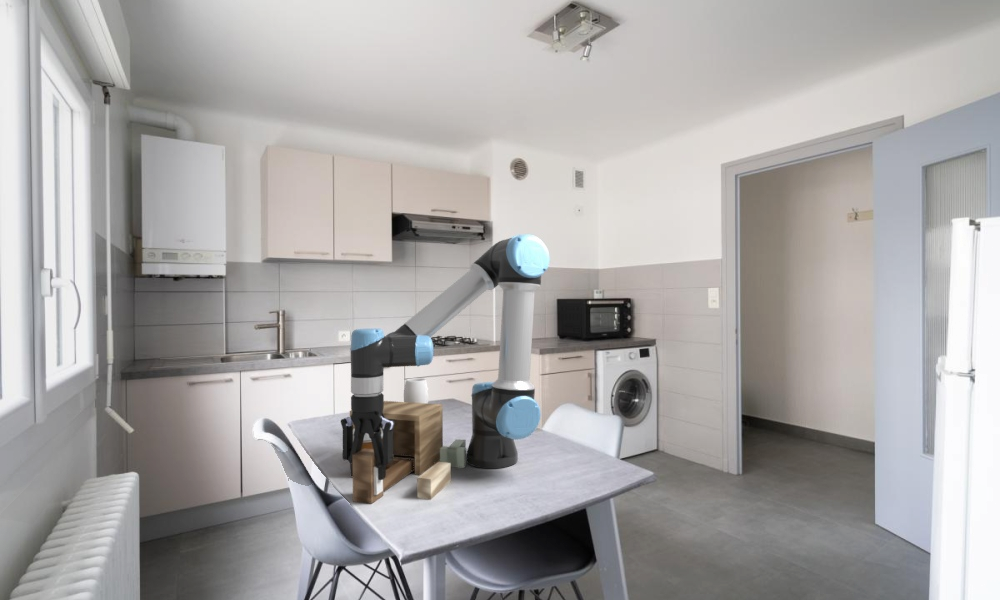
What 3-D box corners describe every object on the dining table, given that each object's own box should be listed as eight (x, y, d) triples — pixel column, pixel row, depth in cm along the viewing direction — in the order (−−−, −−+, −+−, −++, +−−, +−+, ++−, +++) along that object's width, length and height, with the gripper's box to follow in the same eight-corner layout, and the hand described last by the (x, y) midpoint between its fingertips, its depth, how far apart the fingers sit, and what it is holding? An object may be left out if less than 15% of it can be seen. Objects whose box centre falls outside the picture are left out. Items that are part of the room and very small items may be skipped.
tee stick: (472, 456, 146) (472, 440, 146) (463, 467, 136) (463, 449, 136) (449, 455, 147) (449, 439, 147) (440, 466, 138) (439, 448, 138)
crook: (417, 470, 133) (416, 430, 133) (371, 504, 112) (370, 456, 112) (367, 464, 138) (366, 426, 138) (314, 495, 117) (313, 450, 117)
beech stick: (450, 482, 126) (450, 462, 126) (430, 500, 114) (430, 479, 114) (438, 480, 127) (438, 461, 127) (417, 498, 115) (417, 477, 115)
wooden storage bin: (442, 457, 145) (442, 404, 145) (419, 474, 131) (419, 415, 131) (378, 451, 152) (378, 400, 152) (350, 467, 137) (349, 410, 137)
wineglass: (417, 448, 155) (417, 382, 155) (397, 444, 160) (397, 380, 160) (434, 441, 162) (434, 378, 162) (415, 437, 167) (415, 376, 167)
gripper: (408, 392, 116) (409, 489, 116) (344, 389, 121) (345, 481, 121) (392, 398, 109) (393, 502, 109) (325, 394, 114) (325, 493, 114)
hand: (367, 491), depth 115 cm, fingers closed on crook, 5 cm apart
